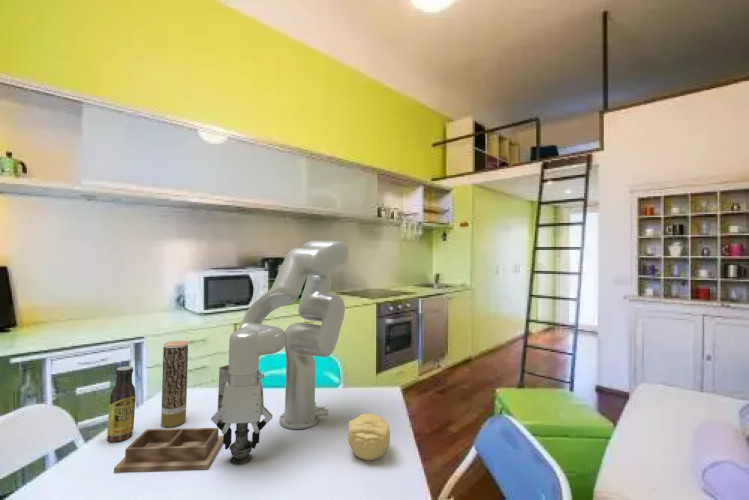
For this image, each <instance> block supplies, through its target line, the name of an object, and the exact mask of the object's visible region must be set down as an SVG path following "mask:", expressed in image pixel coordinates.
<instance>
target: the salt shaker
mask: <svg viewBox="0 0 749 500" xmlns="http://www.w3.org/2000/svg"><path fill="white" fill-rule="evenodd" d="M235 426H236V428H235V431H234V434H235V440H234V442H232V443H231V445H230V446H229V451H230V453H231V456H232V457H231V458H230V460H229V461H230V464H231V465H233V466H243V465H246V464H248V463H250V462H251V461H252V459H253V457H252V455H251V454H250V453H251V451H252V449H253V448H252V440H249V437H248V436H249V432H250V429H249V427H248V426H249V423H235Z"/></svg>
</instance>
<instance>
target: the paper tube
mask: <svg viewBox="0 0 749 500" xmlns="http://www.w3.org/2000/svg"><path fill="white" fill-rule="evenodd" d="M162 351H163V352H162V355H163V356H162V378H161V379H162V382H161V383H162V385H161V412H160V413H161V415H160V416H161V419H160V420H161V422H160V424H161V426H162V427H165V428H174V427H177V426H180V425H182V424H183V423H184V422H185V421H186V420H187V419H186V418H187V396H188V395H187V394H188V393H187V391H188V363H189V341H187V340H173V341H168V342H165V343H163V349H162Z"/></svg>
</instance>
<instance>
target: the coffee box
mask: <svg viewBox="0 0 749 500" xmlns="http://www.w3.org/2000/svg"><path fill="white" fill-rule="evenodd" d="M228 370H229V364H227V365H224V366H220V367H219V371H218V373H219V376H218V395H217V397H218V398H217V412H218V411H219V410H220V409H221V408H222V400H223V394H224V389H225V385H226V383H227V382H228ZM219 418H221V416H220V417H219Z"/></svg>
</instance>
